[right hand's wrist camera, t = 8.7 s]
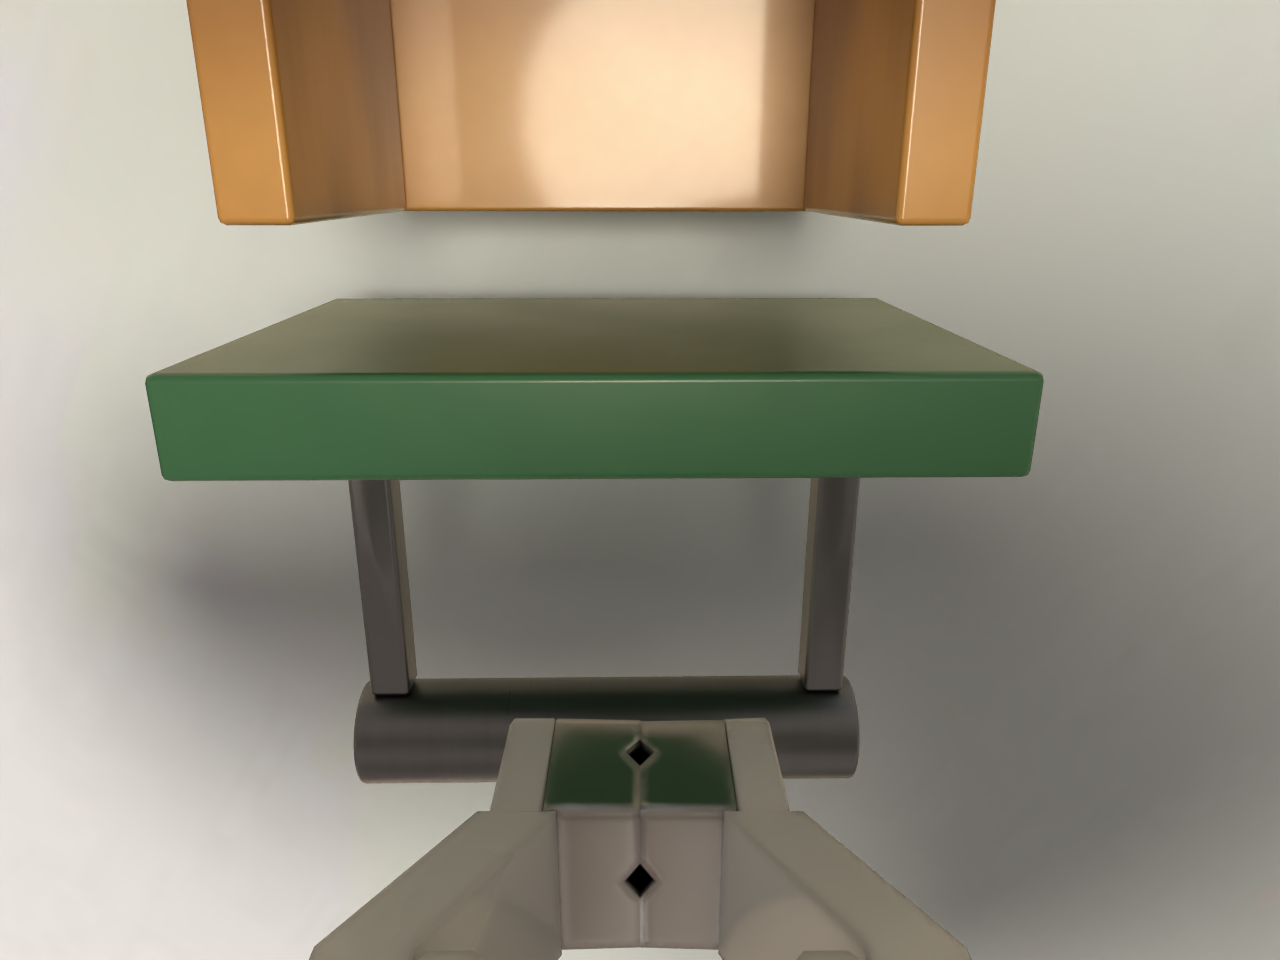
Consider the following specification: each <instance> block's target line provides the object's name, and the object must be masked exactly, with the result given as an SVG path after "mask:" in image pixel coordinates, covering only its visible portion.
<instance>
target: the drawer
mask: <svg viewBox="0 0 1280 960" xmlns="http://www.w3.org/2000/svg"><path fill="white" fill-rule="evenodd" d="M995 2H996V0H187V7H188V14H189V21H190V28H191V34H192V41H193V48H194V55H195V62H196V69H197V76H198V83H199V89H200V96H201V103H202V110H203V117H204V124H205V131H206V138H207V144H208V151H209V158H210V165H211V172H212V179H213V186H214V193H215V199H216V206H217V213H218V218H219V220H220V222H221V223H223V224H225V225H295V224H303V223H311V222H319V221H327V220H335V219H342V218H350V217H358V216H366V215H374V214H382V213H390V212H398V211H809V212H816V213H822V214H829V215H836V216H842V217H849V218H855V219H862V220H869V221H875V222H882V223H888V224H895V225H965V224H967V223H968V222H969V220H970V217H971V209H972V200H973V192H974V183H975V174H976V166H977V157H978V148H979V140H980V131H981V123H982V114H983V105H984V97H985V88H986V80H987V71H988V62H989V54H990V45H991V37H992V28H993V19H994V11H995ZM145 385H146V390H147V396H148V401H149V407H150V412H151V418H152V423H153V429H154V434H155V440H156V445H157V451H158V456H159V462H160V467H161V473H162V476H163V477H164V479H166V480H170V481H257V480H348V482H349V491H350V500H351V509H352V518H353V527H354V536H355V545H356V554H357V563H358V572H359V581H360V591H361V600H362V609H363V618H364V627H365V636H366V645H367V654H368V663H369V672H370V681H369V682H368V683H367V684H366V685H365V687H364V689H363V691H362V694H361V697H360V700H359V704H358V708H357V713H356V719H355V727H354V759H355V766H356V770H357V774H358V776H359V778H360V780H361V781H362V782H364V783H447V782H497V779H498V775H499V770H500V766H501V762H502V757H503V753H504V749H505V744H506V740H507V736H508V731H509V727H510V724H511V723H512V722H513V720H514V719H515V718H554V719H555V720H556V721H557V719H604V720H640V721H701V720H724V719H743V718H766V720H767V721H768V722H769V724H770V728H771V732H772V736H773V741H774V745H775V749H776V754H777V758H778V762H779V766H780V771H781V775H782V779H805V778H850V777H852V776H853V775H854V773H855V771H856V767H857V763H858V757H859V722H858V713H857V707H856V702H855V697H854V693H853V690H852V687H851V685H850V683H849V681H848V679H847V678H846V677H845V676H843V669H844V657H845V646H846V634H847V622H848V610H849V599H850V587H851V575H852V564H853V552H854V540H855V528H856V517H857V505H858V493H859V482H860V478H875V477H1022V476H1026V475H1028V473H1029V472H1030V468H1031V461H1032V455H1033V448H1034V441H1035V435H1036V428H1037V421H1038V415H1039V408H1040V401H1041V395H1042V388H1043V375H1042V373H1039V372H1037V371H1035V370H1033V369H1031V368H1028V367H1026V366H1024V365H1022V364H1020V363H1017V362H1015V361H1013V360H1011V359H1009V358H1006V357H1004V356H1002V355H1000V354H998V353H995V352H993V351H991V350H989V349H987V348H984V347H982V346H980V345H978V344H976V343H973V342H971V341H969V340H967V339H965V338H962V337H960V336H958V335H956V334H954V333H951V332H949V331H947V330H945V329H943V328H940V327H938V326H936V325H934V324H932V323H929V322H927V321H925V320H923V319H921V318H918V317H916V316H914V315H912V314H909V313H907V312H905V311H903V310H901V309H898V308H896V307H894V306H892V305H890V304H887V303H885V302H883V301H881V300H879V299H876V298H681V299H335V300H333V301H330V302H328V303H325V304H323V305H321V306H318V307H316V308H313V309H311V310H308V311H306V312H303V313H301V314H298V315H296V316H293V317H291V318H288V319H286V320H284V321H281V322H279V323H276V324H274V325H271V326H269V327H266V328H264V329H261V330H259V331H256V332H254V333H251V334H249V335H247V336H244V337H242V338H239V339H237V340H234V341H232V342H229V343H227V344H224V345H222V346H219V347H217V348H214V349H212V350H210V351H207V352H205V353H202V354H200V355H197V356H195V357H192V358H190V359H187V360H185V361H182V362H180V363H177V364H175V365H173V366H170V367H168V368H165V369H163V370H160V371H158V372H155V373H153V374H151V375H148V376H147V378H146V383H145ZM668 478H811V488H810V503H809V518H808V533H807V548H806V563H805V578H804V593H803V608H802V623H801V638H800V653H799V667H798V672H799V675H794V676H683V677H572V678H461V679H416V676H417V669H416V658H415V647H414V636H413V625H412V614H411V603H410V592H409V581H408V570H407V559H406V548H405V537H404V526H403V515H402V504H401V493H400V482H399V480H463V479H668Z"/></svg>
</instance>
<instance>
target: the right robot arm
mask: <svg viewBox="0 0 1280 960" xmlns="http://www.w3.org/2000/svg"><path fill="white" fill-rule="evenodd" d="M631 947H647V948H682V949H717V950H718V954H719V955H720V956H721V958H722V959H723V960H971V957H970V955H969V952H968V950H967V948H966V947H965V946H964V945H962V944H961V943H960V942H959V941H958V940H956V939H955V938H954V937H953V936H952V935H950V934H949V933H948V932H947V931H946V930H944V929H943V928H942V927H941V926H940V925H938V924H937V923H936V922H935V921H934V920H932V919H931V918H930V917H929V916H928V915H926V914H925V913H924V912H923V911H922V910H920V909H919V908H918V907H917V906H916V905H914V904H913V903H912V902H911V901H910V900H908V899H907V898H906V897H905V896H904V895H902V894H901V893H900V892H899V891H898V890H896V889H895V888H894V887H893V886H892V885H890V884H889V883H888V882H887V881H886V880H884V879H883V878H882V877H881V876H880V875H878V874H877V873H876V872H875V871H874V870H872V869H871V868H870V867H869V866H868V865H866V864H865V863H864V862H863V861H862V860H860V859H859V858H858V857H857V856H856V855H854V854H853V853H852V852H851V851H850V850H848V849H847V848H846V847H845V846H844V845H842V844H841V843H840V842H839V841H838V840H836V839H835V838H834V837H833V836H832V835H830V834H829V833H828V832H827V831H825V830H824V829H823V828H822V827H821V826H819V825H818V824H817V823H816V822H815V821H813V820H812V819H811V818H810V817H809V816H807V815H806V814H805V813H804V812H802V811H790V809H789V805H788V801H787V796H786V792H785V788H784V784H783V779H782V775H781V771H780V766H779V762H778V758H777V754H776V749H775V745H774V741H773V736H772V732H771V728H770V724H769V722H768V721H767V720H766V718H743V719H724V720H701V721H640V720H604V719H557V721H556V720H555V719H554V718H515V719H514V720H513V722H512V723H511V724H510V727H509V731H508V736H507V740H506V744H505V749H504V753H503V757H502V762H501V766H500V770H499V775H498V779H497V783H496V788H495V792H494V796H493V801H492V805H491V809H490V811H478V812H476V813H475V814H474V815H473V816H471V817H470V818H469V819H468V820H467V821H465V822H464V823H463V824H462V825H461V826H459V827H458V828H457V829H456V830H454V831H453V832H452V833H451V834H450V835H448V836H447V837H446V838H445V839H444V840H442V841H441V842H440V843H439V844H438V845H436V846H435V847H434V848H433V849H432V850H430V851H429V852H428V853H427V854H426V855H424V856H423V857H422V858H421V859H419V860H418V861H417V862H416V863H415V864H413V865H412V866H411V867H410V868H409V869H407V870H406V871H405V872H404V873H403V874H401V875H400V876H399V877H398V878H397V879H395V880H394V881H393V882H392V883H391V884H389V885H388V886H387V887H386V888H385V889H383V890H382V891H381V892H380V893H378V894H377V895H376V896H375V897H374V898H372V899H371V900H370V901H369V902H368V903H366V904H365V905H364V906H363V907H362V908H360V909H359V910H358V911H357V912H356V913H354V914H353V915H352V916H351V917H350V918H348V919H347V920H346V921H345V922H344V923H342V924H341V925H340V926H339V927H337V928H336V929H335V930H334V931H333V932H331V933H330V934H329V935H328V936H327V937H325V938H324V939H323V940H322V941H321V942H319V943H318V944H317V945H316V946H315V947H314V949H313V951H312V953H311V956H310V958H309V960H558V959H559V957H560V956H561V955H562V950H563V949H597V948H631Z"/></svg>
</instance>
